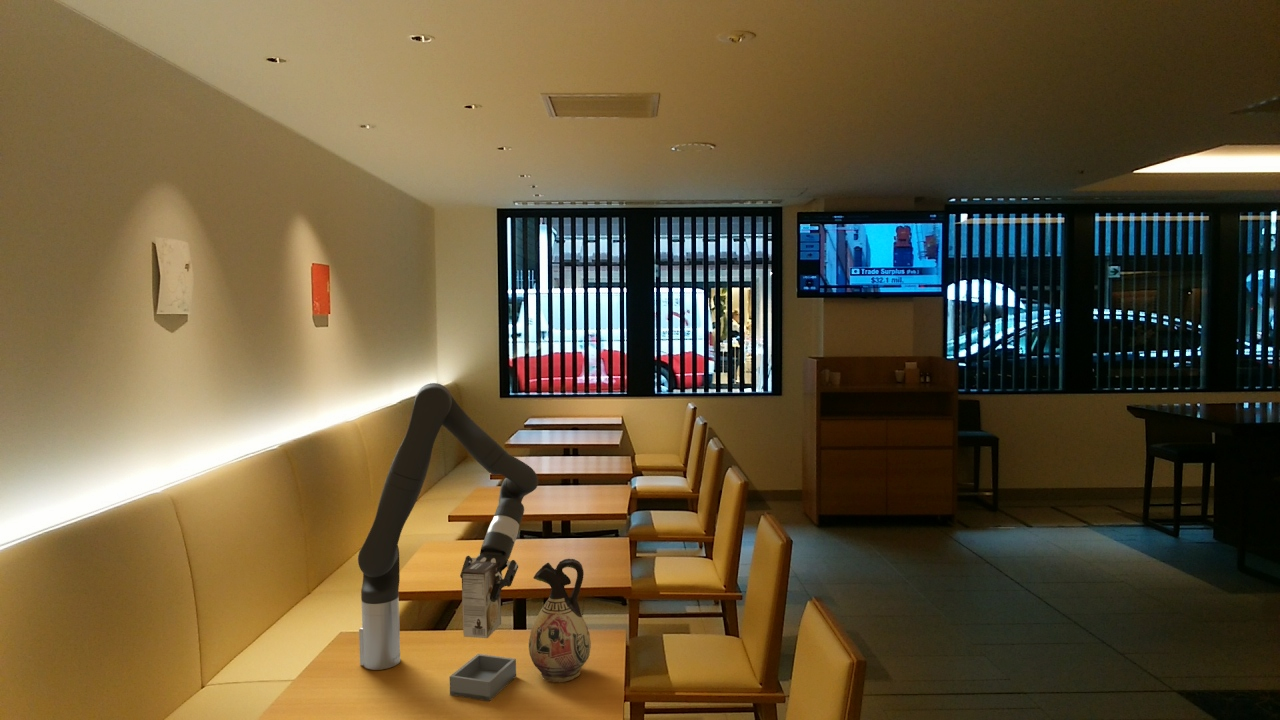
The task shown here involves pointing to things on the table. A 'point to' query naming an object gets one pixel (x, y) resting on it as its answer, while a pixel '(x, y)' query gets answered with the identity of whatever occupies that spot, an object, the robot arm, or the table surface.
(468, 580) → the coffee box
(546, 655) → the ceramic jug
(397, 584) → the robot arm
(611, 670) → the table surface
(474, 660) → the grey tub
